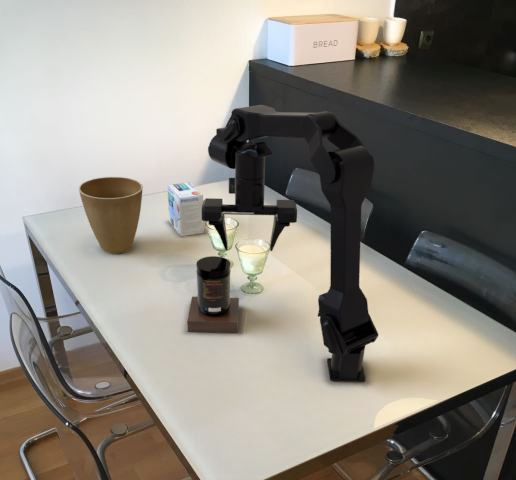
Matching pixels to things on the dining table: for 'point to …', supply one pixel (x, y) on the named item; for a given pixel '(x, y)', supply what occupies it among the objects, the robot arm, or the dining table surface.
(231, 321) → the walnut block
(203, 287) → the supplement container
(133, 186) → the plant pot
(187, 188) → the light bulb box
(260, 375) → the dining table surface
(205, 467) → the dining table surface
